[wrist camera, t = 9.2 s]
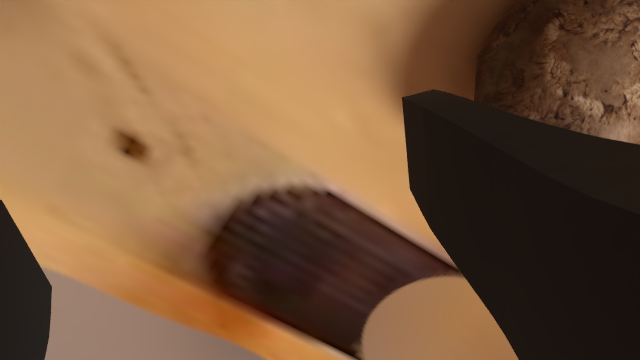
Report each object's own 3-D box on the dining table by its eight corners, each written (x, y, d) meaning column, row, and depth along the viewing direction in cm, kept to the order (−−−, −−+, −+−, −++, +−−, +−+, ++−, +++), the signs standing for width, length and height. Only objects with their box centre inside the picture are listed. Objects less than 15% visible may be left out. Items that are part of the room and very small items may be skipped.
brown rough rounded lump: (694, 156, 23) (767, 177, 17) (491, 188, 25) (492, 216, 19) (665, -43, 22) (731, -94, 16) (459, 8, 25) (451, -19, 19)
